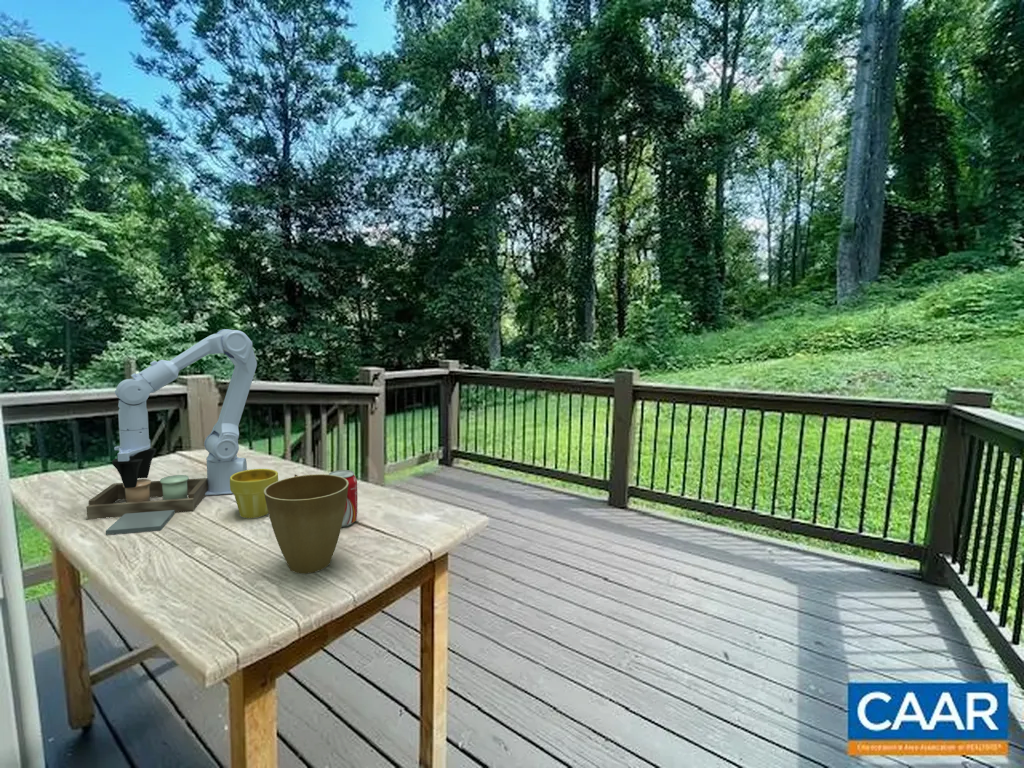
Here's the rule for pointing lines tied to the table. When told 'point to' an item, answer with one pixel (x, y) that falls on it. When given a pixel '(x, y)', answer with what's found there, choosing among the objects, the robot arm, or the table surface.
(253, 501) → the plant pot
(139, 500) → the terracotta pot
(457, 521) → the table surface
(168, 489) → the green pot
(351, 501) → the soda can
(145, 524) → the slate slab
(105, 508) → the frame
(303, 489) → the plant pot
